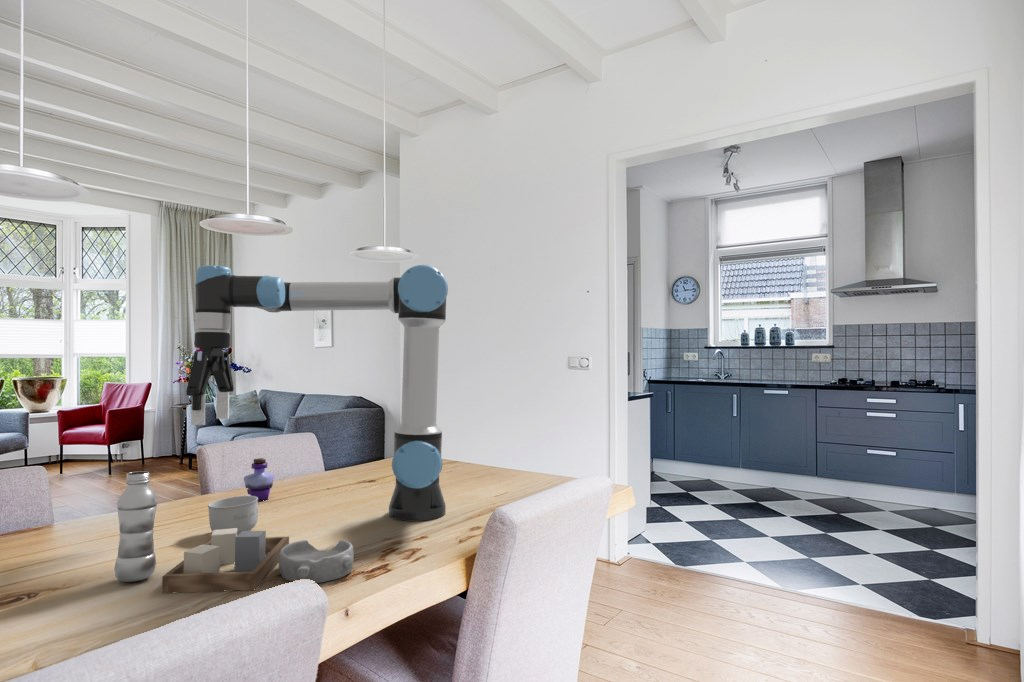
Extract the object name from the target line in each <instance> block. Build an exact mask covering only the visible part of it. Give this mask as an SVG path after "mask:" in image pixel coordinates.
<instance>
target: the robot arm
mask: <svg viewBox="0 0 1024 682" xmlns="http://www.w3.org/2000/svg"><path fill="white" fill-rule="evenodd" d="M195 277H196V278H195V283H194V287H195V291H194V292H195V293H194V294H195V299H194V300H195V302H194V303H195V313H194V315H195V316H194V317H193V321H194V329H195V330H196V332H195V333H194V348H196V349H201V351H194V353H193V362H192V366H191V370H190V373H189V378H188V382H187V386H186V391H185V392H186V395H187V396H189V397H191V405H190V406H191V407H190V408H191V410H190V411H191V416H190V419H191V420H190V425H191V426H205V425H206V405H207V404H206V398H207V397H206V395H205V391H206V388H207V387H208V383H209V381H210V378H211V375H213V378H214V381H215V383H216V387H217V389H218V391H217V392H216V417H215V419H216V420H218V419H222V420H223V419H224V420H225V419H226V420H227V419H230V393H231V392H234V389H235V387H234V381H233V376H232V370H231V365H230V353H229V352H228V351H223V349H229V348H230V347H231V334H230V333H229V331H230V330H231V328H232V327H231V324H232V321H231V319H232V317H231V313H232V312H231V309H232V307H233V308H257V309H260V310H264V311H265V312H268V313H280V312H295V311H297V312H299V311H300V312H301V311H304V312H307V311H309V312H310V311H312V312H313V311H374V310H375V311H377V310H379V311H380V310H383V311H384V310H389V311H390V312H391V313H393V314H398V317H397V318H398V322H400V324H402V325H403V330H404V331H403V334H404V335H403V357H402V360H403V361H402V387H401V388H402V389H401V415H400V419H401V420H400V425H399V426H397V427H396V428H395V429H394V437H393V439H394V440H393V456H392V457H393V458H392V461H391V469H392V472H393V475H394V476H395V487H394V489H393V492H392V495H391V499H390V501H389V504H388V516H389V517H390V518H392V519H394V520H400V521H409V522H410V521H411V522H412V521H413V522H416V521H417V522H418V521H429V520H434V519H437V518H441V517H443V516H444V515H446V501H445V499H444V495H443V491H442V489H441V485H440V473H441V472H442V470H443V459H442V447H443V446H442V445H443V443H442V442H443V441H442V438H443V429H441V428H440V427H439V426H438V425H437V405H438V378H439V377H438V376H439V346H440V345H439V342H440V341H439V340H440V327H441V326H443V325H444V324H445V323H446V315H447V314H446V313H447V312H446V311H447V297H448V293H449V285H448V282H447V280H446V277H445V276H444V274H443V273H442V272H441V271H440V270H438V269H437V268H436V267H434V266H433V265H428V264H417V265H413V266H411V267H410V268H408V269H407V270H406V271H404V273H403V274H402V275H401V276H400V277H392V278H391V279H389V280H388V281H313V282H312V281H309V282H308V281H307V282H303V281H302V282H301V281H299V282H298V281H297V282H294V281H293V282H288V281H287V282H284V280H283V278H281V277H279V276H271V275H234V274H232V269H231V268H230V267H227V266H223V265H211V264H208V265H201V266H199V267H197V270H196V275H195Z"/></svg>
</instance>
